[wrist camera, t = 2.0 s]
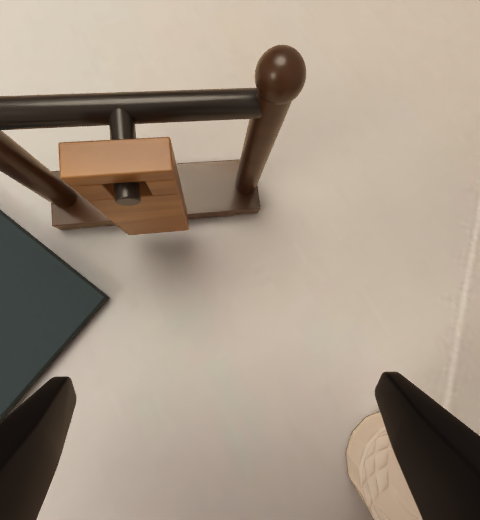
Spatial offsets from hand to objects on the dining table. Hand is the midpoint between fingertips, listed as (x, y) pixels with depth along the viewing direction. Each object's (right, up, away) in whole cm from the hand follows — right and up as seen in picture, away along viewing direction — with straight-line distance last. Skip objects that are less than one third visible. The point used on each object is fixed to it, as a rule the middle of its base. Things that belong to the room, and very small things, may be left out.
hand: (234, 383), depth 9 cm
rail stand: (-6, +7, +14) cm, 17 cm away
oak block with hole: (-5, +6, +12) cm, 14 cm away
